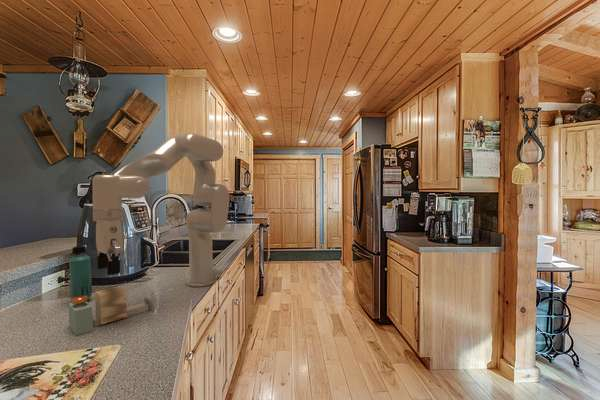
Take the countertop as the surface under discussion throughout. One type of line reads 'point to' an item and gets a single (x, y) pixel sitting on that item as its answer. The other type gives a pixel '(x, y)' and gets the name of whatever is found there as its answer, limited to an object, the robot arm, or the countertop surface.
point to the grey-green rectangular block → (80, 318)
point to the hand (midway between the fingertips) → (108, 270)
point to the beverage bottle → (80, 273)
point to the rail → (131, 310)
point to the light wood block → (111, 304)
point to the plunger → (79, 301)
